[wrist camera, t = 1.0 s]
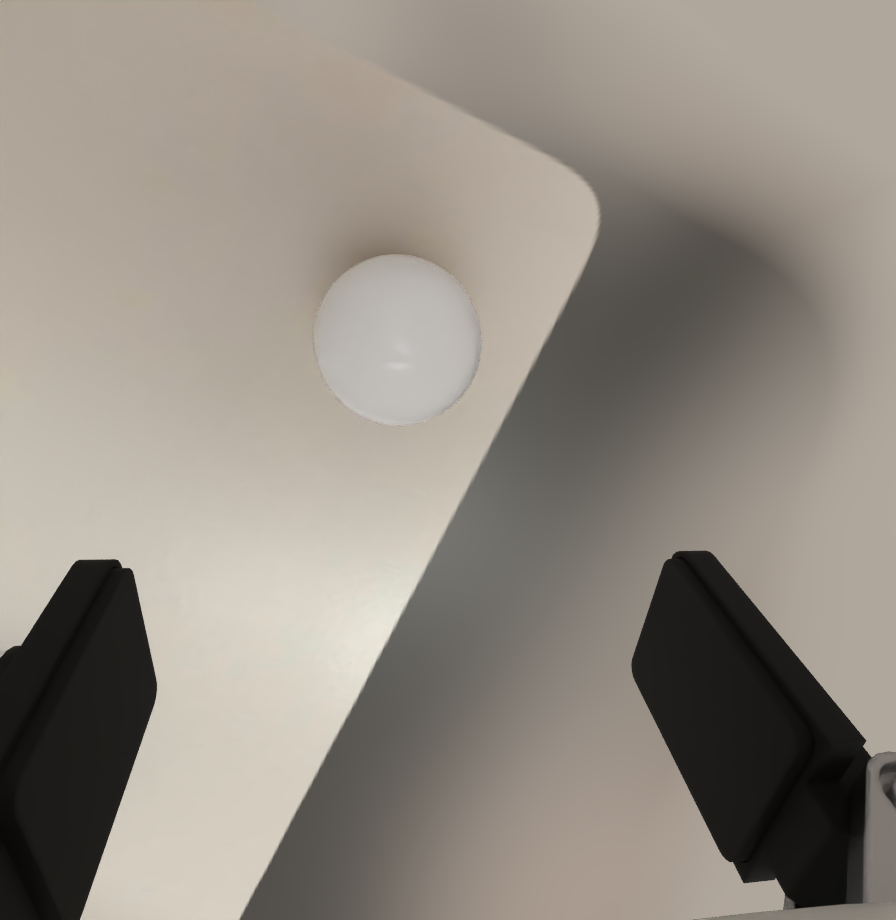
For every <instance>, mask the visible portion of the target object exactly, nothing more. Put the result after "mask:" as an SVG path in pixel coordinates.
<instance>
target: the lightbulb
mask: <svg viewBox="0 0 896 920" xmlns="http://www.w3.org/2000/svg"><path fill="white" fill-rule="evenodd" d="M481 349H482V334H481V327H480V321H479V318H478V314H477V311H476V309H475V306H474V304H473V302H472V300H471V298H470V297H469V295H468V293H467V292H466V291H465V289H464V288H463V287H462V285H461V284H460V283H459V282H458V281H457V280H456V279H455V278H454V277H453V276H452V275H451V274H450V273H448V272H447V271H446V270H444V269H443V268H441V267H440V266H438V265H436V264H434V263H432V262H430V261H428V260H425V259H422V258H419V257H415V256H410V255H403V254H389V255H381V256H377V257H373V258H370V259H367V260H364V261H362V262H360V263H358V264H356V265H354V266H353V267H351V268H350V269H348V270H347V271H345V272H344V273H343V274H342V275H341V276H339V277H338V278H337V279H336V280H335V282H334V283H333V284H332V285H331V286H330V288H329V289H328V291H327V292H326V294H325V295H324V297H323V299H322V301H321V303H320V305H319V308H318V310H317V314H316V317H315V321H314V327H313V350H314V356H315V360H316V364H317V367H318V370H319V372H320V375H321V377H322V379H323V381H324V382H325V384H326V386H327V387H328V389H329V390H330V392H331V393H332V394H333V395H334V396H335V398H336V399H337V400H338V401H339V402H340V403H341V404H342V405H344V406H345V407H346V408H347V409H348V410H350V411H351V412H353V413H354V414H356V415H358V416H360V417H362V418H364V419H366V420H369V421H371V422H374V423H378V424H382V425H389V426H408V425H415V424H419V423H423V422H426V421H429V420H431V419H433V418H435V417H437V416H439V415H441V414H443V413H444V412H446V411H447V410H448V409H450V408H451V407H452V406H453V405H454V404H456V403H457V402H458V401H459V399H460V398H461V397H462V396H463V395H464V394H465V392H466V391H467V389H468V388H469V386H470V385H471V383H472V381H473V379H474V377H475V374H476V372H477V369H478V366H479V362H480V357H481Z"/></svg>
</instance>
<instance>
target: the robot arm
mask: <svg viewBox="0 0 896 920" xmlns="http://www.w3.org/2000/svg"><path fill="white" fill-rule="evenodd" d="M632 673H633V677H634V679H635V682H636V684H637V686H638V688H639V690H640V692H641V694H642V696H643V698H644V700H645V702H646V704H647V706H648V708H649V710H650V712H651V714H652V716H653V718H654V720H655V722H656V724H657V726H658V728H659V730H660V732H661V734H662V736H663V738H664V740H665V742H666V744H667V746H668V748H669V750H670V752H671V754H672V756H673V758H674V760H675V762H676V764H677V766H678V768H679V770H680V772H681V774H682V776H683V778H684V780H685V782H686V784H687V786H688V789H689V791H690V792H691V795H692V796H693V798H694V801H695V802H696V805H697V806H698V808H699V810H700V813H701V815H702V816H703V819H704V821H705V823H706V825H707V827H708V829H709V831H710V833H711V835H712V837H713V839H714V841H715V843H716V845H717V847H718V849H719V851H720V852H721V854H722V856H723V857H724V858H725V859H726V860H728V861H729V862H733V863H734V865H735V867H736V869H737V871H738V873H739V875H740V877H741V879H742V881H743V883H749V882H759V881H768V880H774V879H775V878H776V879H777V880H778V882H779V884H780V886H781V888H782V889H783V891H784V893H785V900H784V909H783V910H778V911H767V912H757V913H747V914H738V915H729V916H721V917H712V918H703V919H695V920H896V752H884V753H879V754H876V755H875V756H873V757H871V756H870V755H869V754H868V752H867V751H866V750H865V749H864V748H863V745H864V744H865V742H866V740H865V739H864V737H863V736H862V735H861V734H860V732H859V731H858V730H857V729H856V728H855V726H854V725H853V724H852V723H851V721H850V720H849V719H848V718H847V717H846V716H845V714H844V713H843V712H842V711H841V709H840V708H839V707H838V706H837V704H836V703H835V702H834V701H833V700H832V698H831V697H830V696H829V695H828V694H827V692H826V691H825V690H824V689H823V687H822V686H821V685H820V684H819V683H818V681H817V680H816V679H815V678H814V676H813V675H812V674H811V673H810V672H809V670H808V669H807V668H806V667H805V666H804V664H803V663H802V662H801V661H800V660H799V658H798V657H797V656H796V655H795V653H794V652H793V651H792V650H791V649H790V647H789V646H788V645H787V644H786V643H785V641H784V640H783V639H782V638H781V636H780V635H779V634H778V633H777V632H776V630H775V629H774V628H773V627H772V625H771V624H770V623H769V622H768V621H767V619H766V618H765V617H764V616H763V615H762V613H761V612H760V611H759V610H758V608H757V607H756V606H755V605H754V604H753V602H752V601H751V600H750V599H749V598H748V596H747V595H746V594H745V593H744V591H743V590H742V589H741V588H740V587H739V585H738V584H737V583H736V582H735V580H734V579H733V578H732V577H731V576H730V574H729V573H728V572H727V571H726V570H725V568H724V567H723V566H722V565H721V564H720V562H719V561H718V560H717V559H716V557H715V556H714V555H713V554H712V553H711V552H708V551H679V552H676V553H675V554H674V555H673V556H672V559H668V560H667V561H666V562H665V563H664V565H663V568H662V571H661V574H660V577H659V580H658V583H657V586H656V589H655V592H654V595H653V598H652V601H651V604H650V608H649V610H648V613H647V616H646V619H645V622H644V625H643V628H642V631H641V634H640V637H639V640H638V643H637V646H636V649H635V652H634V655H633V658H632ZM156 692H157V682H156V676H155V672H154V667H153V662H152V658H151V653H150V648H149V644H148V639H147V634H146V630H145V625H144V620H143V616H142V611H141V606H140V602H139V597H138V593H137V588H136V583H135V579H134V574H133V571H132V570H131V569H130V568H122V566H121V564H120V562H119V561H118V560H115V559H111V560H78V561H76V562H75V563H74V564H73V565H72V567H71V568H70V570H69V571H68V573H67V575H66V576H65V578H64V579H63V581H62V582H61V584H60V586H59V587H58V589H57V590H56V592H55V593H54V595H53V597H52V598H51V600H50V601H49V603H48V604H47V606H46V608H45V609H44V611H43V612H42V614H41V615H40V617H39V619H38V620H37V622H36V623H35V625H34V626H33V628H32V630H31V631H30V633H29V634H28V636H27V637H26V639H25V640H24V642H23V644H22V645H21V646H14V647H12V648H10V649H9V650H7V651H6V652H5V653H4V655H3V656H2V657H1V658H0V920H80V918H81V915H82V912H83V910H84V907H85V904H86V901H87V898H88V895H89V892H90V889H91V886H92V883H93V881H94V878H95V875H96V872H97V869H98V866H99V863H100V860H101V857H102V854H103V852H104V849H105V846H106V843H107V840H108V837H109V834H110V831H111V828H112V825H113V823H114V820H115V817H116V814H117V811H118V808H119V805H120V802H121V799H122V796H123V794H124V791H125V788H126V785H127V782H128V779H129V776H130V773H131V770H132V767H133V765H134V762H135V759H136V756H137V753H138V750H139V747H140V744H141V741H142V738H143V736H144V733H145V730H146V727H147V724H148V721H149V718H150V715H151V712H152V709H153V707H154V703H155V699H156Z"/></svg>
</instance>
